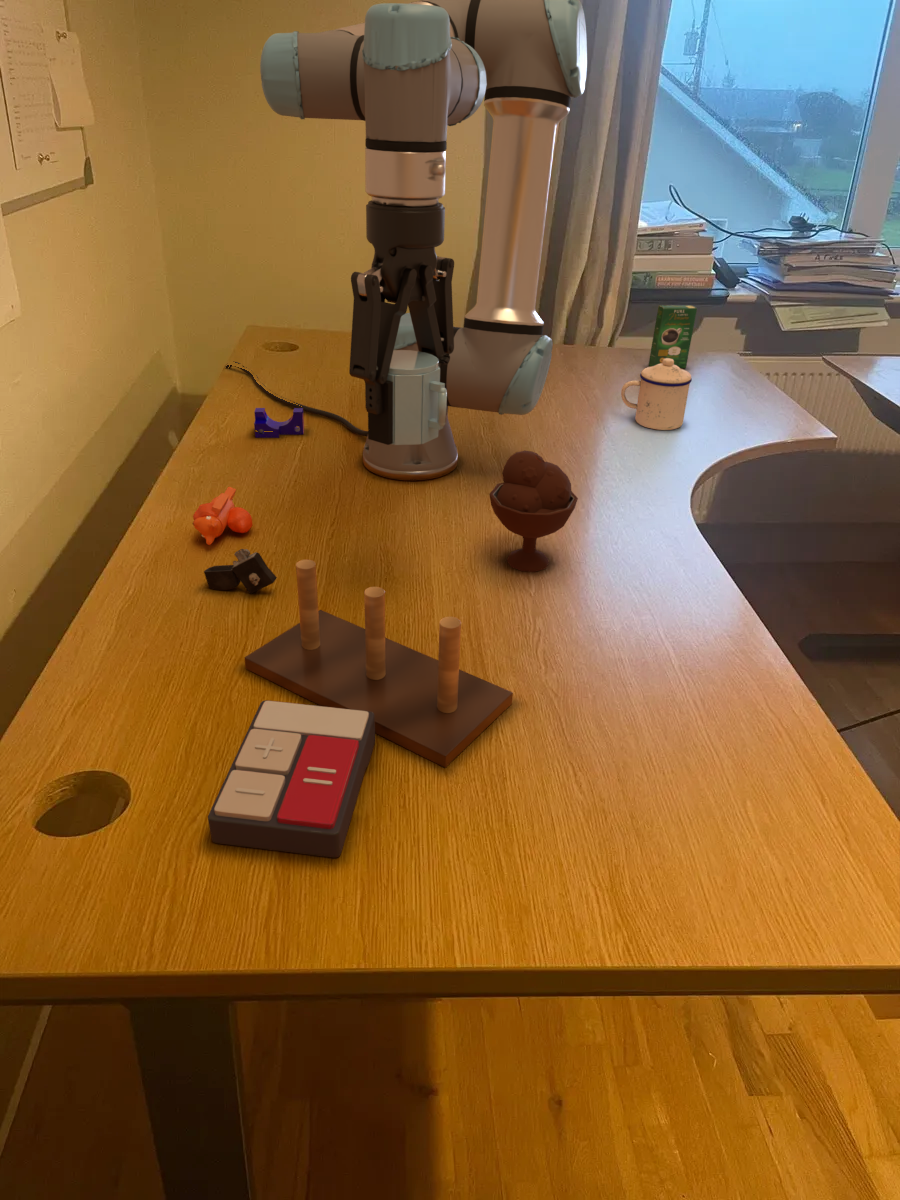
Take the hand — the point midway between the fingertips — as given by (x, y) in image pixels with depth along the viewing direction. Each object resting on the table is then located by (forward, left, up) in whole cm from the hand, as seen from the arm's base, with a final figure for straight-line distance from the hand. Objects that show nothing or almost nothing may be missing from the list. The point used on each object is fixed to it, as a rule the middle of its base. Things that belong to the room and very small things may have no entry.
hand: (403, 430), depth 96 cm
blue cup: (0, 0, 0) cm, 0 cm away
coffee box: (-13, +112, -22) cm, 115 cm away
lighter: (-17, -10, -22) cm, 30 cm away
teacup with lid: (-2, +78, -22) cm, 81 cm away
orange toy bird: (-30, 0, -22) cm, 37 cm away
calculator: (+12, -31, -22) cm, 40 cm away
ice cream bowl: (+7, +18, -22) cm, 29 cm away
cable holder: (-50, +31, -22) cm, 63 cm away
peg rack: (+8, -15, -22) cm, 28 cm away
